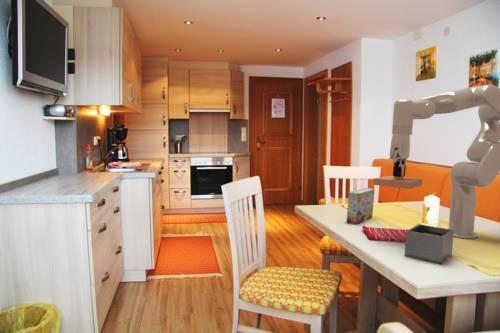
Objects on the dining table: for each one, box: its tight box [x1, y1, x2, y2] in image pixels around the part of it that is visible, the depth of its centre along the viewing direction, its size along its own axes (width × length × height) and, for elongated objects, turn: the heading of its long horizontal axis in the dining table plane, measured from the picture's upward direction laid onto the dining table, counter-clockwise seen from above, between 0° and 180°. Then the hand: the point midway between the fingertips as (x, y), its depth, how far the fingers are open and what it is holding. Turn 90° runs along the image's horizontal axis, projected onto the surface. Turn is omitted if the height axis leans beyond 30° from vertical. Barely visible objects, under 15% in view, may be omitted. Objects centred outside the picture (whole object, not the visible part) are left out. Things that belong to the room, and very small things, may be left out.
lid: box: [373, 164, 424, 190], centre depth 156 cm, size 16×14×9 cm
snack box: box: [346, 187, 375, 226], centre depth 188 cm, size 21×6×15 cm, turn 143°
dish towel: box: [361, 225, 410, 244], centre depth 160 cm, size 17×24×3 cm
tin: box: [403, 223, 454, 265], centre depth 136 cm, size 14×12×9 cm
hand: (398, 175), depth 156 cm, fingers closed on lid, 3 cm apart
